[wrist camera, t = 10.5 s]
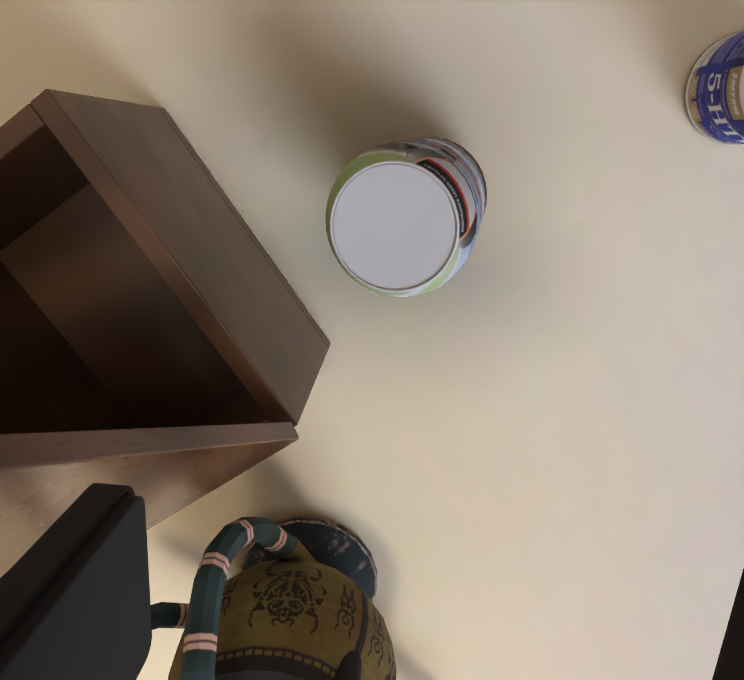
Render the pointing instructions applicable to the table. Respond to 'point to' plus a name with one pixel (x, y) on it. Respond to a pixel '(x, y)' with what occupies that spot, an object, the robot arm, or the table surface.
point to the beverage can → (406, 215)
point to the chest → (135, 282)
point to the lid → (121, 471)
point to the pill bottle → (719, 91)
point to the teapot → (281, 607)
